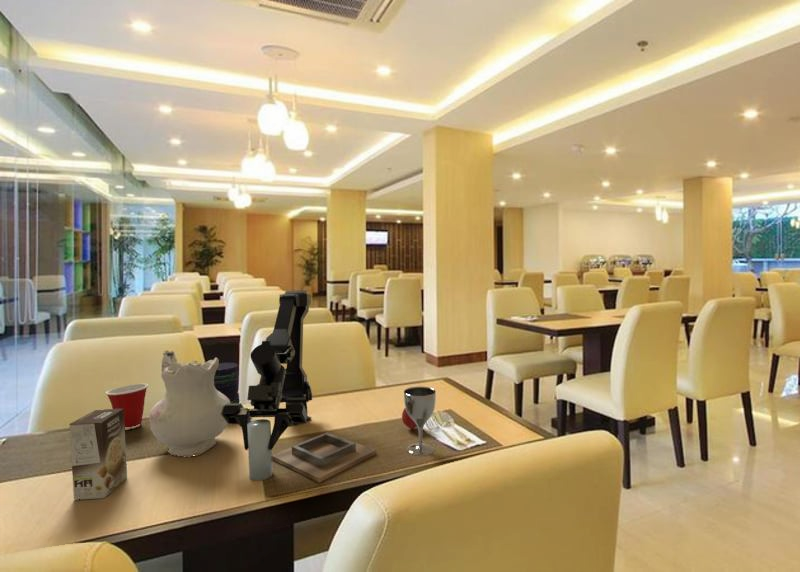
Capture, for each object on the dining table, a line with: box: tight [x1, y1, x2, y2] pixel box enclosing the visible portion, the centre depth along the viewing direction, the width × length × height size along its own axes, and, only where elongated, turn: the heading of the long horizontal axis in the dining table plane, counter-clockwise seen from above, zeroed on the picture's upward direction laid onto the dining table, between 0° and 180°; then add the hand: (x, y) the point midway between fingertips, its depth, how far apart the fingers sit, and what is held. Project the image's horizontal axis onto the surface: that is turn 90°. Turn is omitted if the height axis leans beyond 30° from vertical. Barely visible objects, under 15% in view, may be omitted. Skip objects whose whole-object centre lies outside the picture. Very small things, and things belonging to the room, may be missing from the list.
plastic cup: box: [105, 383, 149, 427], centre depth 133 cm, size 11×11×12 cm
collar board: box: [272, 432, 377, 483], centre depth 111 cm, size 18×18×3 cm
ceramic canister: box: [247, 418, 274, 482], centre depth 101 cm, size 5×5×12 cm
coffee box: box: [69, 408, 128, 501], centre depth 97 cm, size 9×6×16 cm
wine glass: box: [403, 386, 437, 457], centre depth 113 cm, size 8×8×15 cm
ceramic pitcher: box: [148, 350, 231, 458], centre depth 117 cm, size 22×20×25 cm
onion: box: [401, 407, 417, 430], centre depth 127 cm, size 6×6×8 cm
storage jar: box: [214, 362, 240, 404], centre depth 144 cm, size 10×10×15 cm
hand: (257, 449), depth 100 cm, fingers closed on ceramic canister, 5 cm apart
